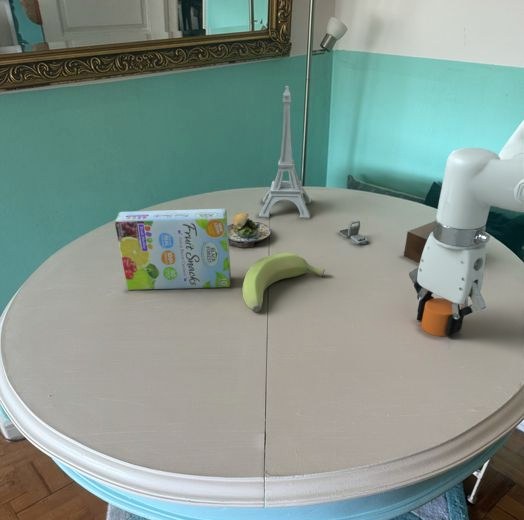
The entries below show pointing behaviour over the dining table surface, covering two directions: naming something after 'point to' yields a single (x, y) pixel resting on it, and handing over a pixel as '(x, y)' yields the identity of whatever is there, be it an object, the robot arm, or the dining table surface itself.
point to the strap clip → (354, 234)
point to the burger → (246, 231)
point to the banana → (272, 275)
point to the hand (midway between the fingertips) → (437, 324)
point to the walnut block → (417, 241)
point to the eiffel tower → (286, 163)
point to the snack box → (174, 248)
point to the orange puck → (436, 316)
